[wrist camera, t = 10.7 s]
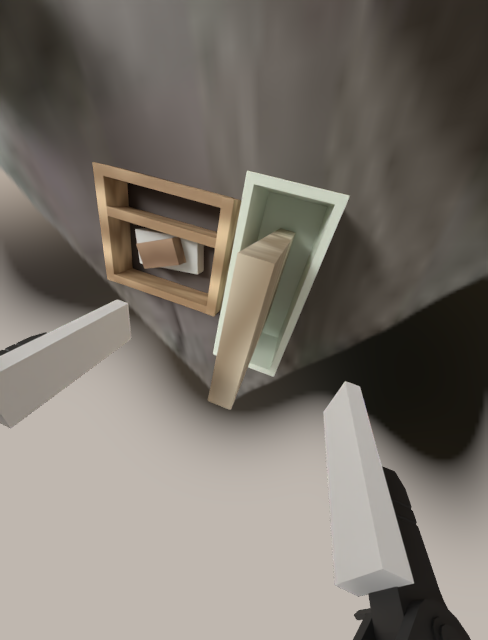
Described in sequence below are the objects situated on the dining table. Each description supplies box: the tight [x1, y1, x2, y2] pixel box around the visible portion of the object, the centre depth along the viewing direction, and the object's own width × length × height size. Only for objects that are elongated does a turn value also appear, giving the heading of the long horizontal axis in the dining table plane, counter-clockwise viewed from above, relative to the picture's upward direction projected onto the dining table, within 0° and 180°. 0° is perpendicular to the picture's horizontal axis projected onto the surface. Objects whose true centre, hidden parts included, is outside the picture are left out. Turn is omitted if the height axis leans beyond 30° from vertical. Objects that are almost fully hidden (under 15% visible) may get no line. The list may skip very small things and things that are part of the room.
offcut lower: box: [135, 228, 204, 274], centre depth 31 cm, size 5×10×2 cm, turn 84°
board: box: [208, 228, 296, 410], centre depth 21 cm, size 2×12×18 cm, turn 167°
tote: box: [213, 171, 349, 377], centre depth 26 cm, size 21×9×9 cm, turn 167°
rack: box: [92, 162, 241, 316], centre depth 30 cm, size 16×19×4 cm
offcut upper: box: [136, 237, 186, 269], centre depth 30 cm, size 4×6×2 cm, turn 98°
